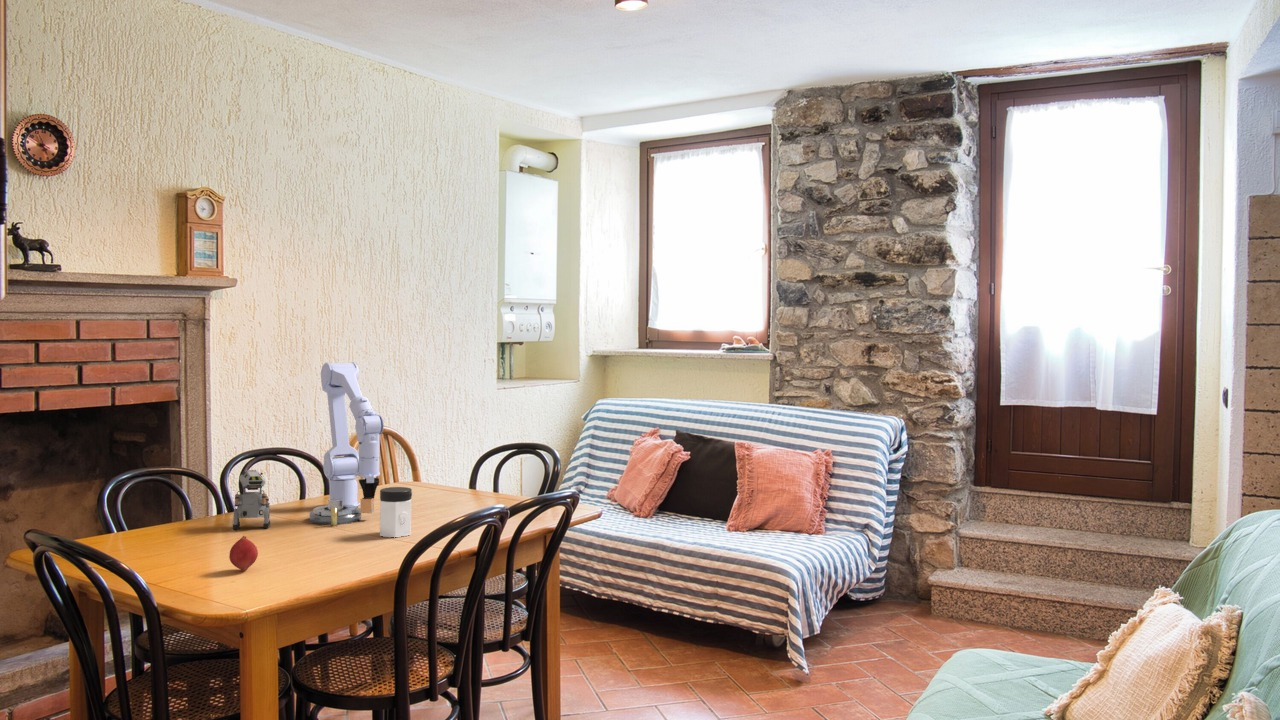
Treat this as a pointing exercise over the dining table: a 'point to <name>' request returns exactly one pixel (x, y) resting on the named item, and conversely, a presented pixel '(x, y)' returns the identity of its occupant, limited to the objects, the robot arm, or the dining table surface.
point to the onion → (243, 554)
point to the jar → (395, 511)
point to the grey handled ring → (348, 508)
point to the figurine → (251, 499)
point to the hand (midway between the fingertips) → (368, 504)
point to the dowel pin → (333, 516)
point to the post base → (340, 519)
